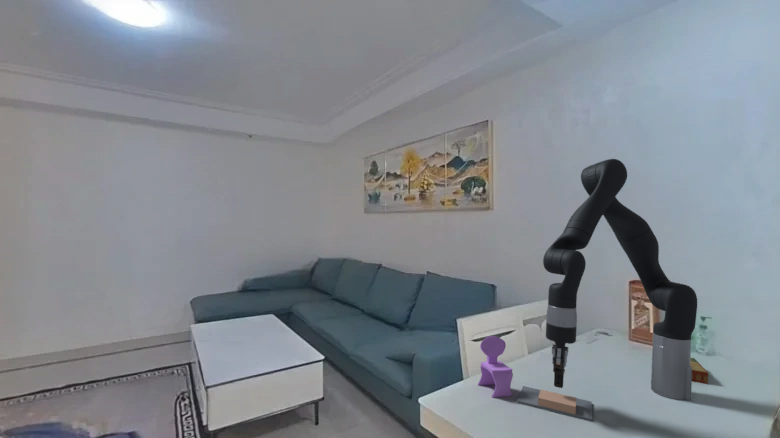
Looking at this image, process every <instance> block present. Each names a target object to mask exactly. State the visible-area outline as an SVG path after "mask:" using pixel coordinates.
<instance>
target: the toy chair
mask: <svg viewBox="0 0 780 438" xmlns="http://www.w3.org/2000/svg"><path fill="white" fill-rule="evenodd" d="M479 346H480V348H479V349H480V350H481V352H482V353H483V354H484V355H485V356H486V361H481V362H480V371H481V376H480V379H479V381H478V383H477V386H487V385H488V386H489V385H495V387H494V390H493V393H492V394H491V398H500V397H511V396H512V388H511V385H512V380H513V377H514V373H513V369H512V368H511V367H509V366H508V365H507V364H505V363H503V362H502V361H501V360H498V357H499V356H501V355H503V353H504V352H505V350H506V346H507V345H506V341H505V340H504V339H502V338H500V337H499V336H493V335H489V336H486V337H485V338H484V339H483V340H482V341H481V342H480V345H479Z"/></svg>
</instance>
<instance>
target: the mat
mask: <svg viewBox="0 0 780 438" xmlns="http://www.w3.org/2000/svg"><path fill="white" fill-rule="evenodd" d="M540 390H541V389H538V388H533V387H529V386H524V385H523V386H522V388H521V389H520V393H519V395H518V396H517V397H518V398H517V400H516V403H517V404H521V405H525V406H528V407H532V408H537V409H540V410H544V411H549V412H553V413H556V414H560V415H564V416H568V417H571V418H572V417H573V418H577V419H580V420H584V421H589V422H592V421H593V409H592V407H593V406H592V400H588V399H582V398H579V397H576V415H575V414H571V413H567V412H563V411H559V410H555V409H551V408H547V407H543V406H539V405H538V397H539V394H540Z"/></svg>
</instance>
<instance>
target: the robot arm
mask: <svg viewBox="0 0 780 438" xmlns="http://www.w3.org/2000/svg"><path fill="white" fill-rule="evenodd" d="M627 179H628V170H627V167H626V165H625V164H624V162H622V161H621V160H619V159H618V158H617V159H616V158H610V159H606V160H602V161H599V162H597V163H593V164H592V165H591V164H590V165H589V166H587V167H585V168H583V170H581V173H580V180H581V184H582V187H583V189H584V190H585V191H586V193H587V194H588V198H587V199H586V200H584V202H583V203H582V204H580V205H579V207H577V209H575V211H574V212H573V213H572V215H571V216H570V218H569V220H568V222H567V223H566V225H565V227H564V229H563V232H562V233H561V234H560V236H558V237H557V238H556V240H554V241H553V243H552V244H551V245H550V246H549V247H548V248H547V250H546V251H545V253H544V255H543V260H542V263H543V268H544V269H545V270H546V272H548V273H549V274H555V275H560V276H561V275H562V276H564V277H563V278H564V279H563V280H562V281H561V282H555V283H551V284H550V285H549V287H548V300H547V309H546V318H545V319H546V321H545V337H546V339H547V340H549V341H552V342H554V343H553V344H552V347H551V354H552V361H551V362H552V367H553V369H552V372H553V374H554V376H553V377H554V378H553V382H554V383H553V386H554V387H556V388H559V389H562V388H564V375H565V373H566V369H565V368H566V367H567V362H568V355H569V346H566V344H568V345H571V344H575V343H576V342H577V329H578V328H577V326H578V325H577V324H578V323H577V322H578V314H577V301H578V300H577V297H578V291H579V287H580V285H581V281H582V279H583V275H584V273H585V270H586V259H585V256H584V254H583V253H582V252H581V251H579V250H583V249H586V247H587V246H588V244H589V243H590V241H591V238H593V237H592V236H593V235H594V232H595V230H596V228H597V226H598V223H599V222H600V221H601V219H602V216H603V217H604V219H605V220H606V221H607V223H608V225H609V227H610V229H611V230H612V232H613V234H614V236H615V238H616V239H617V242H618V243H619V244H620V247H621V248H622V250H623V251H624V254H626V256H627V258H628V259H629V261H630V263H631V266H632V267H633V268H634V271H635V272H636V273H637V276H638V277H639V280H640V282H641V285H642V287H643V289H644V292H645V294H646V296H647V298H648V301H649V302H650V303H651V304H652V305H653V307H655V308H656V309H657V310H660V311H663V312H665V313H664V319H663V320H662V321H658V322H656V323H654V324H653V326H652V327H653V328H652V329H653V331H652V332H653V333H652V353H651V355H652V356H651V357H652V358H651V375H650V376H651V379H650V389H651V391H653V392H654V393H656V394H657V395H660V396H663V397H666V398H669V399H673V400H684V401H685V400H688V401H692V384H693V382H692V367H691V365H690V358H691V355H692V354H691V352H692V351H691V348H692V347H691V346H692V335H693V333H694V331H695V329H696V321H697V313H698V312H697V311H698V297H697V293H696V291H695V289H694V288H692V287H691V286H689V285H687V284H683V283H680V282H674V281H671V280H670V279H669V278H668V277H667V275H666V274H665V272H664V270H663V269H662V266H661V265H660V259H659V253H660V249H659V248H660V246H659V242H658V239H657V236H656V235H655V233H654V231H653V230H652V228H651V226H650V225H649V223H648V222H647V220H645V219H644V218H643V217H642V216H640V215H639V214H637V213H636V212H634V211H633V210H631V209H630V208H628V207H627V206H625V205H624V204H623V203H621V202H620V201H619V200H618V198H617V195H618V194H619V193H620V191H621V190H622V188H623V187H624V185H625V184H626V182H627Z"/></svg>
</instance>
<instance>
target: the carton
mask: <svg viewBox="0 0 780 438" xmlns="http://www.w3.org/2000/svg"><path fill="white" fill-rule="evenodd" d="M690 365H691V367H692V383H698V384H703V385H704V384H705V385H709V384H708V383H709V372H708V371H707V370H706V368H704V367H703V365H702V364H701V363H700V362H698V360H697V359H696V358H694V357H690Z"/></svg>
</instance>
